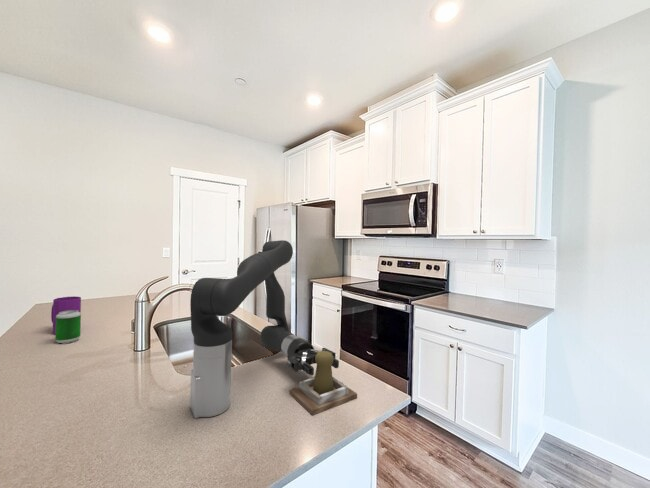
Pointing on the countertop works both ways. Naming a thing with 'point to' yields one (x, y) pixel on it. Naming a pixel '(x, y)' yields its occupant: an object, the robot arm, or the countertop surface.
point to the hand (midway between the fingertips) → (325, 368)
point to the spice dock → (321, 396)
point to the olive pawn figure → (323, 373)
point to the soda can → (68, 326)
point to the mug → (64, 307)
